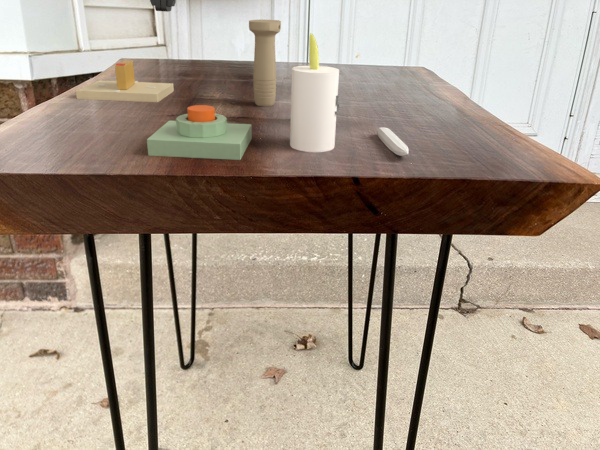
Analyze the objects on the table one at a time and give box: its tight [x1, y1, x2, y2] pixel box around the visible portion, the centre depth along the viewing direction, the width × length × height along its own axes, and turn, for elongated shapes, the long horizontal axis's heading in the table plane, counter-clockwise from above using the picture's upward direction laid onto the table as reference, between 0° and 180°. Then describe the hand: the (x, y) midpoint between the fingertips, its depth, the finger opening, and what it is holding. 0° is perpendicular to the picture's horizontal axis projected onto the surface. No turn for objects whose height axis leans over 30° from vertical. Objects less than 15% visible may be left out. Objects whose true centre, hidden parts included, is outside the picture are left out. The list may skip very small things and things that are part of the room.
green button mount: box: [146, 113, 253, 161], centre depth 71 cm, size 12×10×4 cm
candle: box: [289, 32, 341, 153], centre depth 71 cm, size 6×6×15 cm
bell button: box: [186, 104, 216, 122], centre depth 70 cm, size 4×4×2 cm
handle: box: [248, 19, 282, 107], centre depth 88 cm, size 5×6×15 cm
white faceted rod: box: [376, 126, 410, 157], centre depth 74 cm, size 2×14×2 cm, turn 7°
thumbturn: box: [114, 60, 136, 90], centre depth 93 cm, size 6×2×4 cm, turn 3°
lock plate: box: [75, 79, 175, 103], centre depth 94 cm, size 14×10×3 cm
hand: (163, 10), depth 66 cm, fingers closed
